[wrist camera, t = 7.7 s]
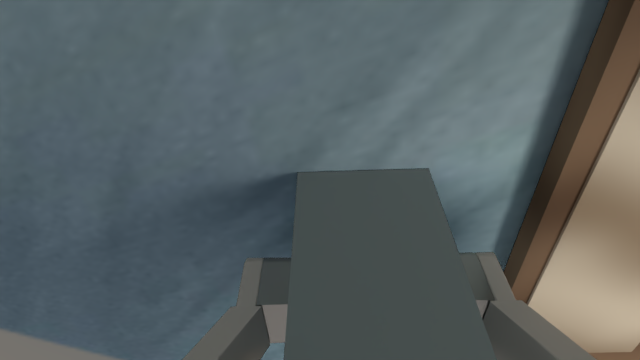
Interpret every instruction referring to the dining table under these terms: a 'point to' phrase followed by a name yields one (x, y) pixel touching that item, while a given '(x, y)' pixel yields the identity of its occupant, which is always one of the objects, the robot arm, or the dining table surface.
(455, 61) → the dining table surface
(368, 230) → the pawn
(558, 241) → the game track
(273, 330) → the robot arm
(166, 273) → the dining table surface
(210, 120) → the dining table surface
